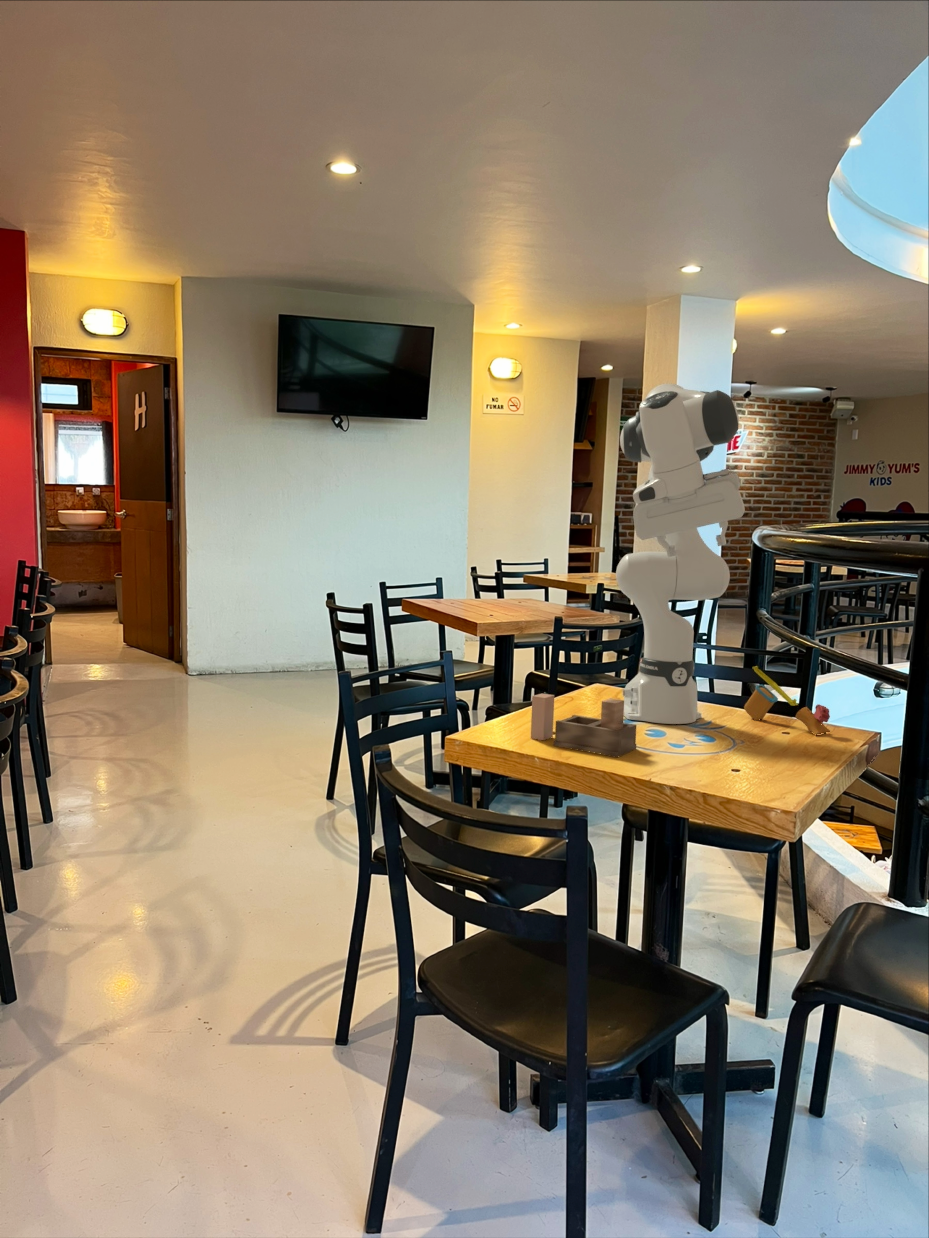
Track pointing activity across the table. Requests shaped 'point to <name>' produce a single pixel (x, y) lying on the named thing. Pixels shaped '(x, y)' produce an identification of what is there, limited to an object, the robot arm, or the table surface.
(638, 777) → the table surface
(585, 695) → the table surface
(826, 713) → the toy
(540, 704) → the pink rectangular block
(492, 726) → the table surface
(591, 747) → the box
